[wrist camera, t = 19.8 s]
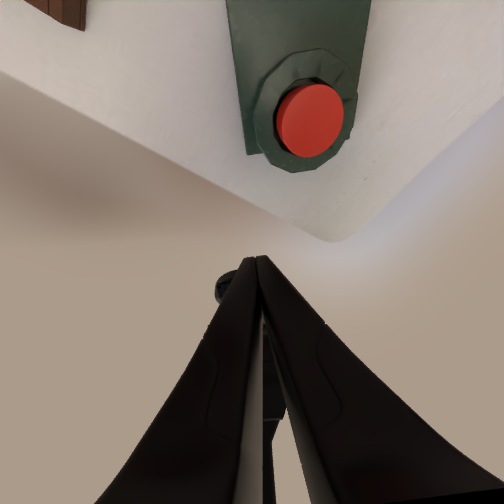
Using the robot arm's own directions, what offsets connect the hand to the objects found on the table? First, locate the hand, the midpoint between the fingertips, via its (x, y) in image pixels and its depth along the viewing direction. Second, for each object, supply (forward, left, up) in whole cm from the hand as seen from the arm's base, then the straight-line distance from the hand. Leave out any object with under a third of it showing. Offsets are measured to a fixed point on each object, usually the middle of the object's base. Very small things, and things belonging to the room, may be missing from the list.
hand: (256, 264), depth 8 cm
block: (+6, -4, -13) cm, 15 cm away
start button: (+3, -4, -10) cm, 11 cm away
